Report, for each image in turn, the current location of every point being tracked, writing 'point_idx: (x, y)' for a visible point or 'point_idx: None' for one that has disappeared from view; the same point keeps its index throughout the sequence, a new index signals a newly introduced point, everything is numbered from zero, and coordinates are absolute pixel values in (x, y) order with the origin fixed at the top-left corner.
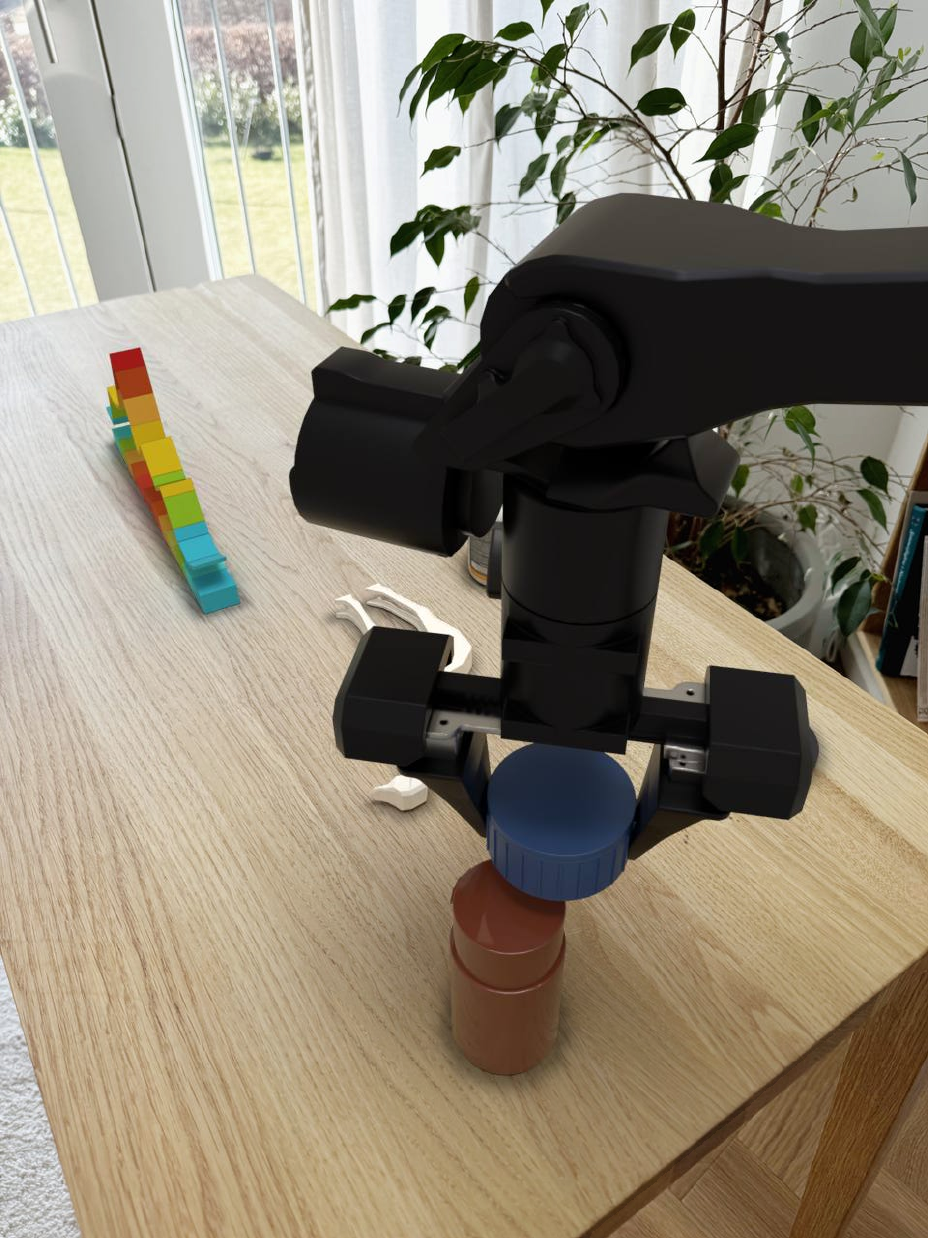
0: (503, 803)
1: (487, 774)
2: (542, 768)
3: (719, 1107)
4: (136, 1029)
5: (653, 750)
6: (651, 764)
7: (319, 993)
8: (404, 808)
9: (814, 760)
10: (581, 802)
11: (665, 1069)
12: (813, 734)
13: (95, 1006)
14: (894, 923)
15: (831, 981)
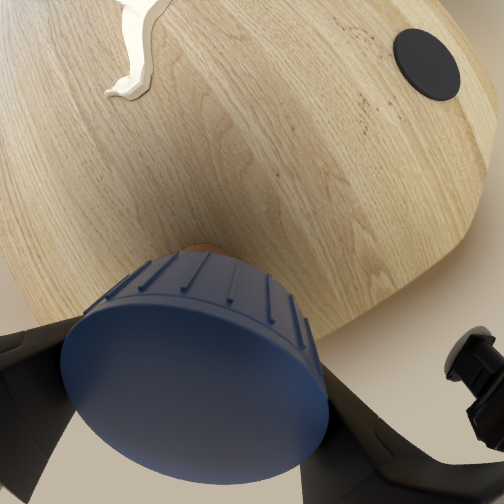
0: (94, 416)
1: (53, 371)
2: (138, 377)
3: (331, 329)
4: (30, 267)
5: (381, 494)
6: (361, 497)
7: (93, 252)
8: (131, 99)
9: (457, 90)
10: (219, 444)
11: (307, 310)
12: (458, 70)
13: (15, 254)
14: (463, 220)
15: (421, 256)
